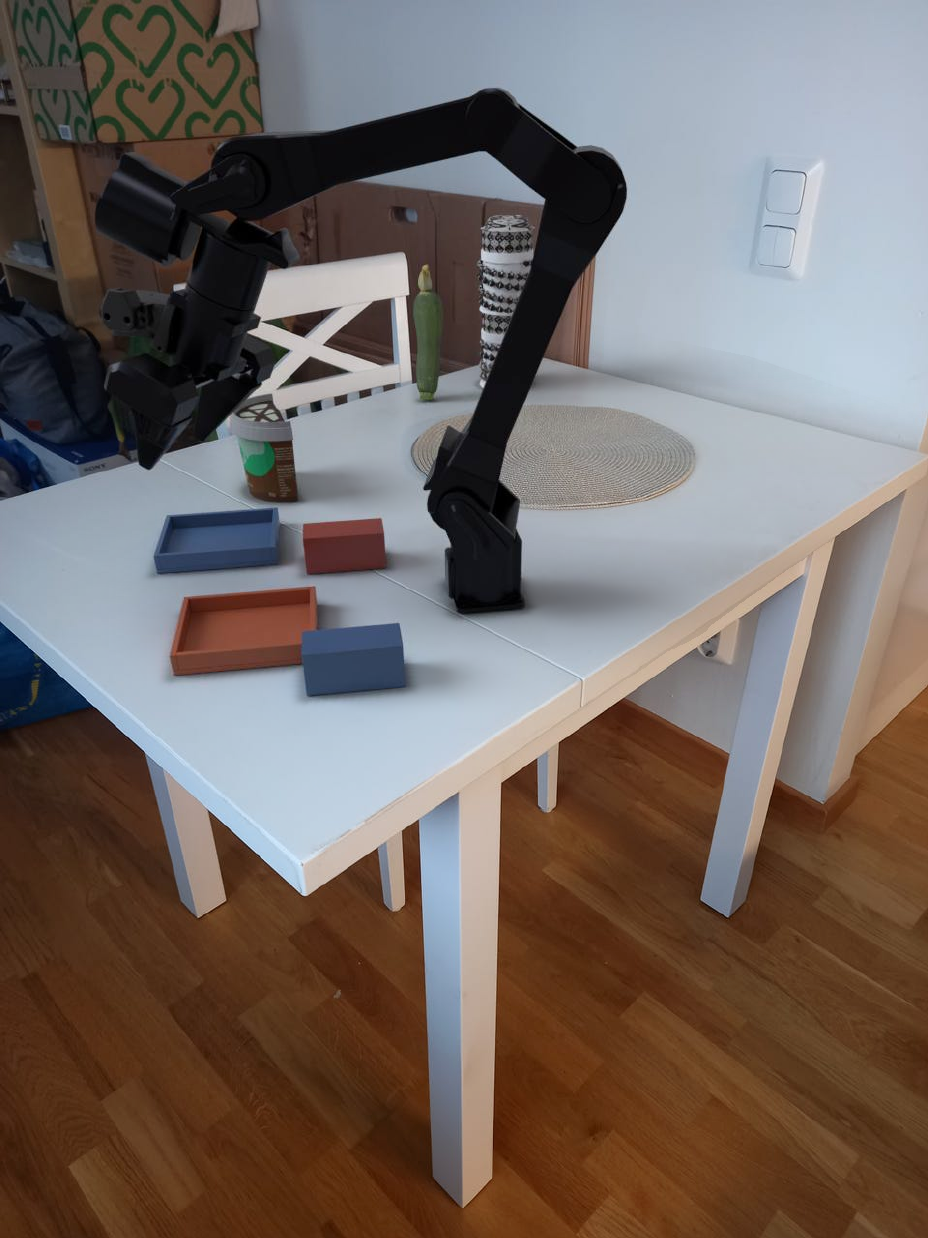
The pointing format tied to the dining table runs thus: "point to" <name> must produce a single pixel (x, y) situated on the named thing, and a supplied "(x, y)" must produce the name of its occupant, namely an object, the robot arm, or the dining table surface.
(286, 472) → the food container
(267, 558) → the blue tray
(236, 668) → the orange tray
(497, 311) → the decorative candle
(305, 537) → the red bar
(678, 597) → the dining table surface
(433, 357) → the vegetable
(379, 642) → the blue bar
